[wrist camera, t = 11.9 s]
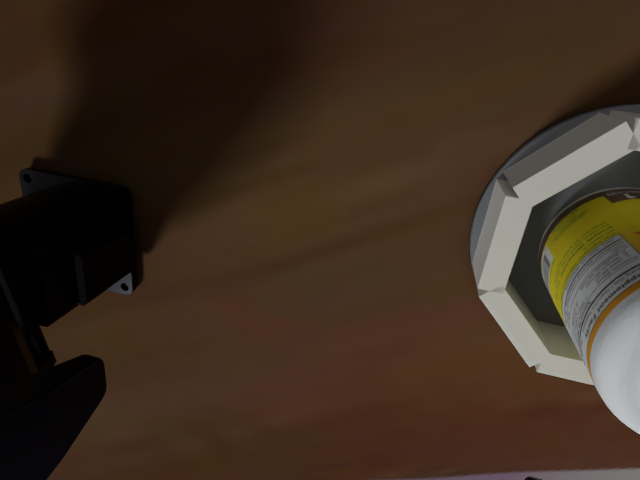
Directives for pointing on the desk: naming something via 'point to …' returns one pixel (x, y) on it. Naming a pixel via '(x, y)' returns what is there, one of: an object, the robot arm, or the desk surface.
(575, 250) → the supplement bottle
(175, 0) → the desk surface
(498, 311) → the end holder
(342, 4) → the desk surface
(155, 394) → the desk surface
